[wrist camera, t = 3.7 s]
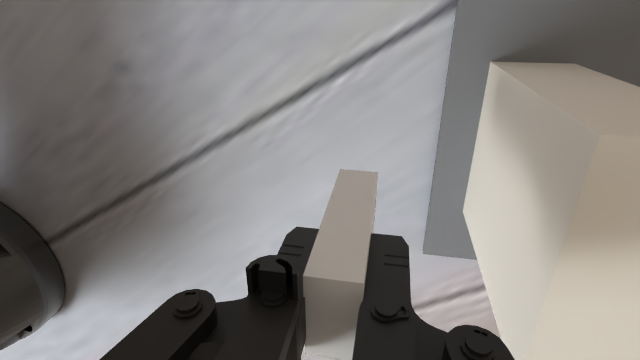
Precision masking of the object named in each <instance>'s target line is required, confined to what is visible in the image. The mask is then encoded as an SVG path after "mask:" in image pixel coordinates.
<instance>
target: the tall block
mask: <svg viewBox="0 0 640 360" xmlns="http://www.w3.org/2000/svg"><path fill="white" fill-rule="evenodd" d="M463 214H464V217H465V221H466V224H467V227H468V231H469V234H470V237H471V241H472V244H473V247H474V250H475V254H476V257H477V260H478V264H479V267H480V270H481V274H482V277H483V280H484V284H485V287H486V290H487V294H488V297H489V300H490V303H491V307H492V310H493V313H494V317H495V320H496V323H497V327H498V330H499V333H500V337H501V340H502V342H503V343H504V344H505V345H506V346H507V348H508V349H509V351H510V353H511V354H512V356H513V358H514V359H515V360H640V87H638V86H636V85H633V84H630V83H627V82H624V81H622V80H619V79H616V78H613V77H611V76H608V75H605V74H602V73H600V72H597V71H594V70H591V69H588V68H586V67H583V66H580V65H577V64H571V63H527V62H490V67H489V72H488V78H487V83H486V89H485V94H484V99H483V105H482V110H481V116H480V121H479V126H478V132H477V137H476V143H475V148H474V153H473V159H472V164H471V170H470V175H469V180H468V186H467V191H466V197H465V202H464V207H463Z"/></svg>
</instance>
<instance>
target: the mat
mask: <svg viewBox="0 0 640 360" xmlns="http://www.w3.org/2000/svg"><path fill="white" fill-rule="evenodd" d="M490 62H527V63H571V64H577V65H580V66H583V67H586V68H588V69H591V70H594V71H597V72H600V73H602V74H605V75H608V76H611V77H613V78H616V79H619V80H622V81H624V82H627V83H630V84H633V85H636V86H638V87H640V0H458V3H457V10H456V17H455V24H454V31H453V39H452V46H451V53H450V60H449V67H448V74H447V82H446V89H445V96H444V103H443V110H442V117H441V124H440V132H439V139H438V146H437V153H436V160H435V167H434V175H433V182H432V189H431V196H430V203H429V210H428V218H427V225H426V232H425V239H424V246H423V254H429V255H438V256H447V257H457V258H466V259H475V260H477V257H476V254H475V250H474V247H473V244H472V241H471V237H470V234H469V231H468V227H467V224H466V221H465V217H464V214H463V207H464V202H465V197H466V191H467V186H468V180H469V175H470V170H471V164H472V159H473V153H474V148H475V143H476V137H477V132H478V126H479V121H480V116H481V110H482V105H483V99H484V94H485V89H486V83H487V78H488V72H489V67H490Z"/></svg>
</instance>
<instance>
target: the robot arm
mask: <svg viewBox="0 0 640 360" xmlns="http://www.w3.org/2000/svg"><path fill="white" fill-rule="evenodd" d="M377 177H378V172H368V171H355V170H341V169H340V171H339V174H338V177H337V180H336V183H335V186H334V188H333V191H332V194H331V197H330V200H329V203H328V206H327V208H326V211H325V214H324V217H323V220H322V223H321V226H320V228H319V229H314V228H304V227H296V228H294V229H293V230H292V231H291V232H289V233H288V234H287V235H286V237H285V239H284V241H283V243H282V246H281V248H280V250H279V252H278V254H277V255H268V256H264V257H260V258H258V259H256V260H254V261H252V262H251V263H250V264H249V265H248V266H247V267H246V276H247V285H248V296H247V297H245V298H243V299H239V300H234V301H226V302H217V303H216V302H215V299H214V297H213V295H212V294H211V293H209V292H207V291H206V290H200V289H192V290H186V291H183V292H180V293H177V294H175V295H174V296H172V297H171V298H169V299H168V300H167V301H166V302H165V303H163V304H162V305H161V306H160V307H159V308H158V309H157V310H155V311H154V312H153V313H152V314H151V315H150V316H149V317H147V318H146V319H145V320H144V321H143V322H142V323H141V324H139V325H138V326H137V327H136V328H135V329H134V330H133V331H132V332H130V333H129V334H128V335H127V336H126V337H125V338H124V339H122V340H121V341H120V342H119V343H118V344H117V345H116V346H114V347H113V348H112V349H111V350H110V351H109V352H108V353H107V354H105V355H104V356H103V357H102V358H101V359H100V360H301V354H302V351H303V347H304V344H305V354H310V355H316V356H322V357H329V358H335V359H341V360H515V359H514V358H513V356H512V354H511V353H510V351H509V349H508V348H507V346H506V345H505V344H504V343H503V342H502V340H501V339H500V338H499V337H497V336H496V335H495V334H493V333H492V332H490V331H489V330H486V329H483V328H481V327H478V326H472V325H462V326H457V327H455V328H453V329H452V330H451V331H449V332H448V333H447V332H445V331H442V330H440V329H437V328H435V327H433V326H431V325H429V324H427V323H426V322H424V321H423V320H422V319H420V318H419V316H418V315H417V314H416V313H415V312H414V310H413V308H412V305H411V295H410V268H409V246H408V245H407V243H406V242H405V240H404V239H403V237H402V236H393V235H383V234H373V233H374V220H375V206H376V191H377ZM64 294H65V288H64V281H63V277H62V273H61V270H60V268H59V265H58V263H57V261H56V259H55V257H54V256H53V254H52V252H51V251H50V249H49V248H48V246H47V245H46V244H45V242H44V241H43V240H42V239H41V237H40V236H39V235H38V234H37V233H36V232H35V231H34V230H33V229H32V228H31V227H30V226H29V225H28V224H27V223H26V222H25V221H24V220H23V219H22V218H20V217H19V216H18V215H17V214H15V213H14V212H13V211H11V210H10V209H8V208H7V207H5V206H4V205H2V204H1V203H0V350H2V349H4V348H6V347H8V346H9V345H11V344H13V343H15V342H17V341H18V340H20V339H23V338H25V337H27V336H29V335H31V334H32V333H34V332H35V331H37V330H38V329H39V328H40V327H41V326H42V325H44V324H45V323H46V322H47V321H48V320H49V319H50V318H51V317H52V316H53V315H55V314H56V313H57V312H58V310H59V309H60V307H61V305H62V303H63V300H64Z"/></svg>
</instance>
